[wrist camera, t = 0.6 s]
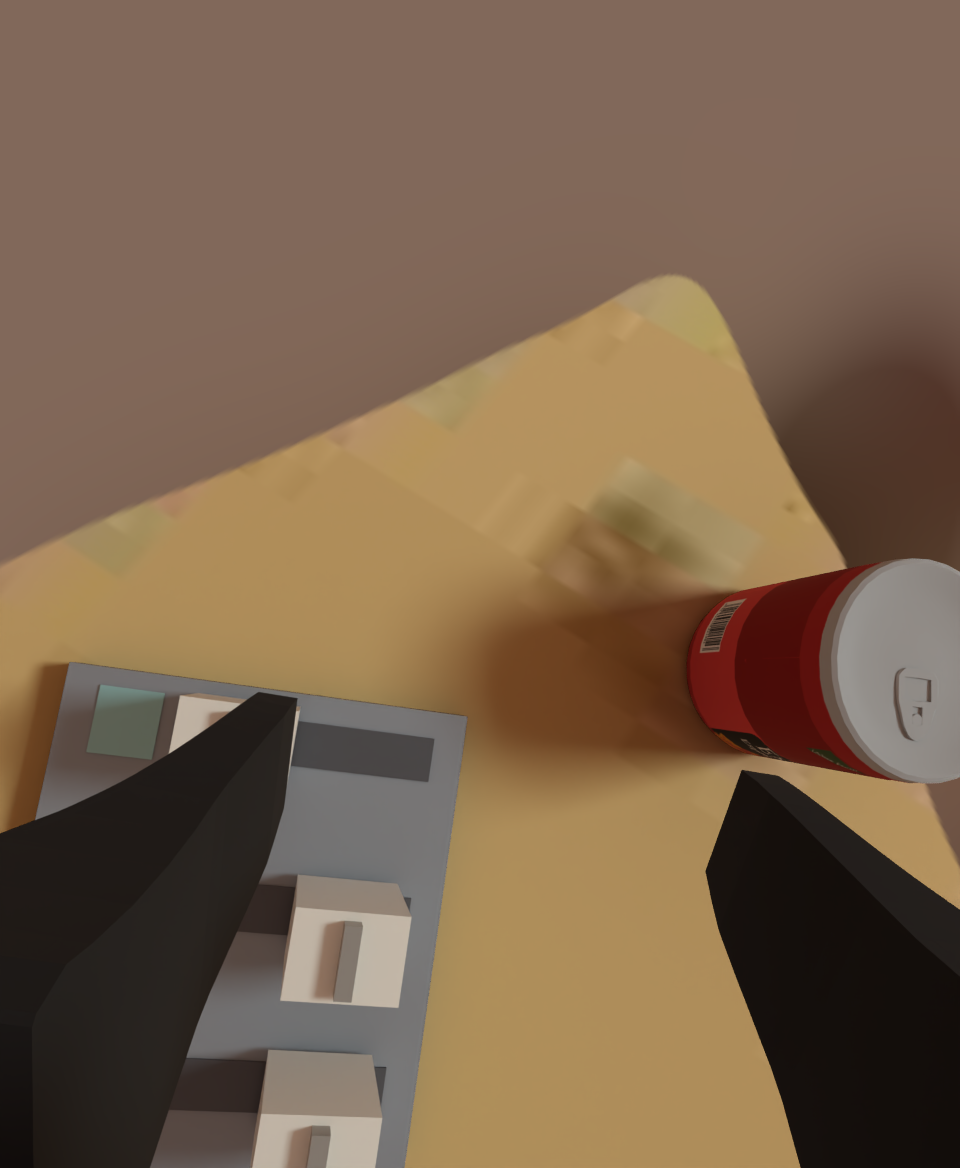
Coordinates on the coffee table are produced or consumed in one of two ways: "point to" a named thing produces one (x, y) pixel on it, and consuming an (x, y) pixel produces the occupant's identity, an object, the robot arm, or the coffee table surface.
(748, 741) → the canned food
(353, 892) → the slider
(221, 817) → the robot arm
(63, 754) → the switch panel
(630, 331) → the coffee table surface
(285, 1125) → the slider
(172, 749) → the slider
